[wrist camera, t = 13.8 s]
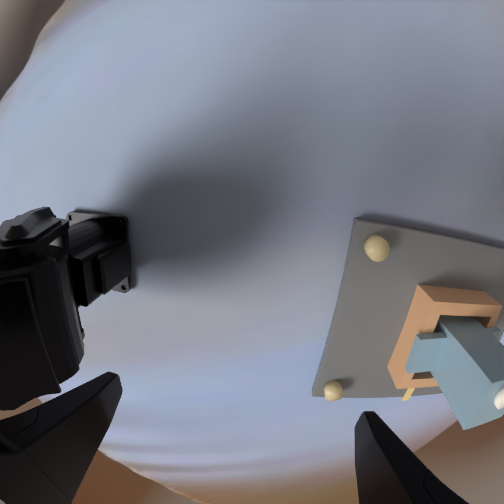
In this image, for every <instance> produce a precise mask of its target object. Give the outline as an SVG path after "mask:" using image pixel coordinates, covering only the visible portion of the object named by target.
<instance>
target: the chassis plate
mask: <svg viewBox="0 0 504 504" xmlns="http://www.w3.org/2000/svg"><path fill="white" fill-rule="evenodd" d="M440 315H453V316H473V317H474V318H475V319H476V320H478V321H479V322H480V323H481V324H482V325H483V326H484V327H485V328H490V327H498V328H499V329H500V330H501V331H502V332H501V335H500V337H499V340H498V341H500V339H501V337H502V334H503V332H504V248H501V247H497V246H493V245H489V244H484V243H480V242H476V241H471V240H467V239H462V238H458V237H453V236H448V235H443V234H439V233H434V232H429V231H424V230H418V229H413V228H408V227H403V226H397V225H391V224H386V223H380V222H374V221H368V220H362V219H356V218H354V223H353V228H352V234H351V239H350V244H349V250H348V255H347V259H346V264H345V269H344V274H343V278H342V282H341V287H340V291H339V295H338V299H337V304H336V308H335V312H334V315H333V319H332V323H331V327H330V331H329V334H328V338H327V341H326V345H325V348H324V352H323V355H322V359H321V362H320V365H319V368H318V372H317V375H316V378H315V381H314V384H313V387H312V396H315V397H325V398H326V399H327V400H328V401H336V400H339V399H340V398H380V397H403V396H404V397H403V398H402V400H409V398H410V396H417V395H429V394H438V393H443V392H442V391H441V389H440V387H439V386H438V384H437V382H436V381H435V379H434V377H433V376H432V374H431V372H430V371H427V372H419V373H410V374H408V373H407V371H406V369H405V365H406V362H407V360H408V357H409V354H410V351H411V348H412V345H413V342H414V339H415V335H416V334H426V333H433V332H434V329H435V327H436V324H437V322H438V319H439V316H440Z"/></svg>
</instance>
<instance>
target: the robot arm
mask: <svg viewBox="0 0 504 504" xmlns="http://www.w3.org/2000/svg"><path fill="white" fill-rule="evenodd" d="M71 216H72V218H71ZM121 220H122V221H123V225H122V224H121V222H120V221H121ZM130 274H131V259H130V244H129V239H128V219H127V218H126V217H125V216H120V215H110V214H98V213H87V212H75V211H72V212H69V213H68V214H67V220H66V219H59V218H56V215H54V214H53V212H52V211H51V209H50V208H49V207H41V208H38V209H34V210H31V211H28V212H26V213H24V214H23V215H19V216H16V217H15V218H14V219H11V220H6V221H4V222H3V223H2V224H1V226H0V410H2V411H3V410H15V409H16V408H18V407H20V406H21V405H23V404H25V403H26V402H28V401H30V400H32V399H34V398H37V397H40V396H43V395H47V394H56V393H60V392H61V388H60V386H59V384H61V383H63V382H64V381H66V380H68V379H69V378H71V377H72V376H73V375H75V374H76V373H77V372H78V371H79V369H80V368H79V364H80V362H81V360H82V358H83V355H84V343H83V339H84V336H85V334H84V329H83V328H82V326H81V321H80V316H79V311H78V308H79V307H80V306H85V307H87V306H88V305H89V304H91V303H92V302H93V301H94V300H96V299H97V298H98V297H99V296H100V295H102V294H104V295H105V294H106V293H108V292H109V291H110V290H113V291H118V292H122V293H127V292H128V291H129V290H130V289H131V283H130ZM123 285H125V286H126V288H124V286H123ZM121 395H122V386H121V382H120V377H119V375H118V374H115V373H112V372H106V373H104V374H102V375H100V376H98V377H97V378H95V379H93V380H91V381H89V382H87V383H85V384H83V385H80V386H78V387H76V388H74V389H72V390H70V391H68V392H66V393H64V394H62V395H60V396H58V397H56V398H54V399H52V400H50V401H47V402H45V403H43V404H42V405H39V406H37V407H34V408H32V409H30V410H28V411H25V412H23V413H20V414H18V415H15V416H12V417H9V418H5V419H2V420H0V504H71V503H72V500H73V499H74V497H75V494H76V492H77V490H78V488H79V486H80V484H81V482H82V480H83V478H84V475H85V474H86V471H87V470H88V467H89V465H90V463H91V461H92V459H93V457H94V455H95V453H96V451H97V450H98V448H99V446H100V444H101V442H102V440H103V438H104V436H105V434H106V432H107V430H108V428H109V426H110V424H111V421H112V419H113V416H114V414H115V411H116V408H117V406H118V403H119V400H120V398H121ZM355 469H356V477H357V486H358V496H359V504H469V503H468V502H466V501H465V500H464V499H462V498H461V497H460V496H458V495H457V494H456V493H455V492H453V491H452V490H451V489H449V488H448V487H447V486H446V485H445V484H443V483H442V482H441V481H440V480H439V479H438V478H437V477H436V476H435V475H434V474H433V473H432V472H431V471H430V470H429V469H427V467H426V466H425V465H424V464H423V463H422V462H421V461H420V460H419V459H418V458H417V456H416V455H415V454H414V453H413V452H412V451H411V450H410V449H409V448H408V447H407V446H406V445H405V444H404V443H403V442H402V441H401V440H400V439H399V437H398V436H397V435H396V434H395V433H394V432H393V431H392V430H391V429H390V428H389V427H388V426H387V425H386V424H385V423H384V421H383V420H382V419H381V418H380V417H379V416H378V415H377V414H376V413H375V412H374V411H364V412H363V413H362V414H361V416H360V418H359V420H358V421H357V423H356V425H355Z"/></svg>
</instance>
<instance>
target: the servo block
mask: <svg viewBox="0 0 504 504" xmlns="http://www.w3.org/2000/svg"><path fill="white" fill-rule="evenodd" d="M501 332H502V331H501V330H500V329H499V328H498V327H490V328H485V327H484V326H483V325H482V324H481V323H480V322H479V321H478V320H476V319H475V318H474V317H473V316H453V315H440V316H439V319H438V322H437V324H436V327H435V329H434V332H433V333H426V334H416V335H415V339H414V342H413V345H412V348H411V351H410V354H409V357H408V360H407V362H406V365H405V369H406V371H407V373H408V374H410V373H419V372H427V371H430V372H431V374H432V376H433V377H434V379H435V381H436V382H437V384H438V386H439V387H440V389H441V391H442V392H443V394H444V396H445V397H446V399H447V401H448V403H449V404H450V406H451V408H452V410H453V412H454V413H455V415H456V417H457V419H458V421H459V422H460V424H461V426H462V428H463V430H466V429H469V428H472V427H475V426H478V425H481V424H484V423H486V422H489V421H492V420H494V419H497V418H499V417H501V416H502V415H503V414H504V346H503V345H502V344H501V343H500V342H499V341H498V340H499V337H500V335H501Z"/></svg>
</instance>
